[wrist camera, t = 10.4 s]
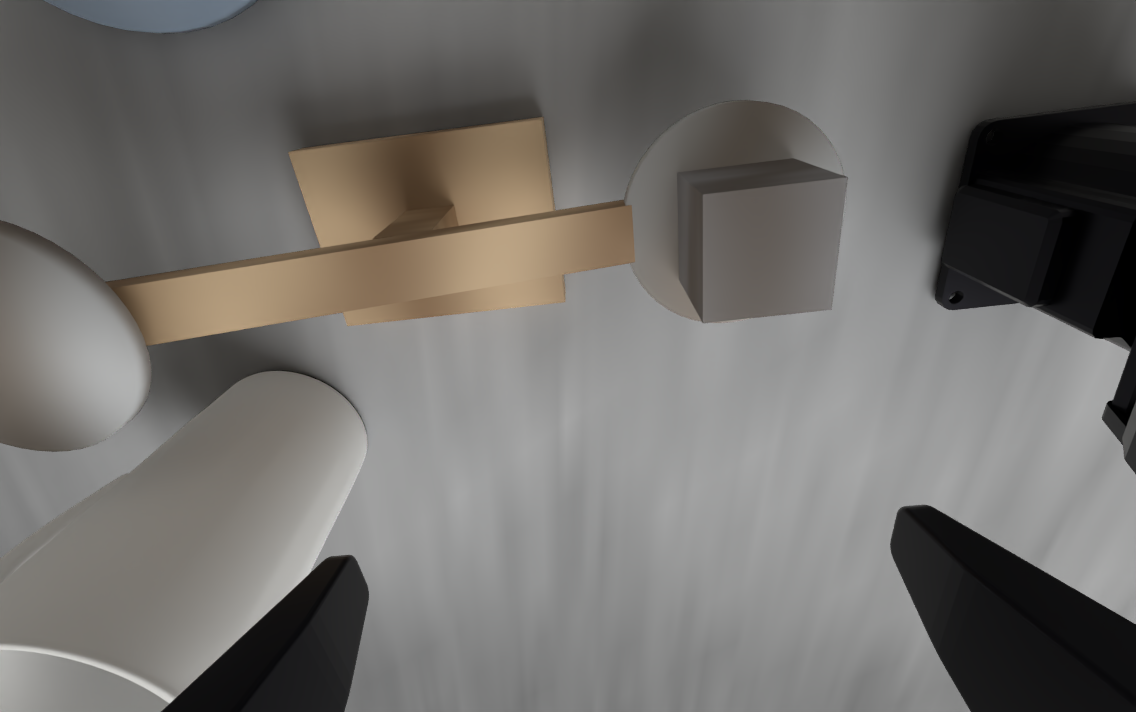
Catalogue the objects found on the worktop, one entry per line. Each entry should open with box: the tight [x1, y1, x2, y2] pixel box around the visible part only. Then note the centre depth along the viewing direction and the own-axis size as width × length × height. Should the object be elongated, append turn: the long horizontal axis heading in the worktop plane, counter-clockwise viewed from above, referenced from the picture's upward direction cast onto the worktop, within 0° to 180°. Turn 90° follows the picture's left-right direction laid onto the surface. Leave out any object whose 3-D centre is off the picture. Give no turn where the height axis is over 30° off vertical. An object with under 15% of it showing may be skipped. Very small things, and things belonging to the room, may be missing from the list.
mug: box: [0, 371, 367, 712], centre depth 18 cm, size 10×7×12 cm, turn 94°
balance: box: [0, 100, 848, 452], centre depth 15 cm, size 24×6×8 cm, turn 97°
